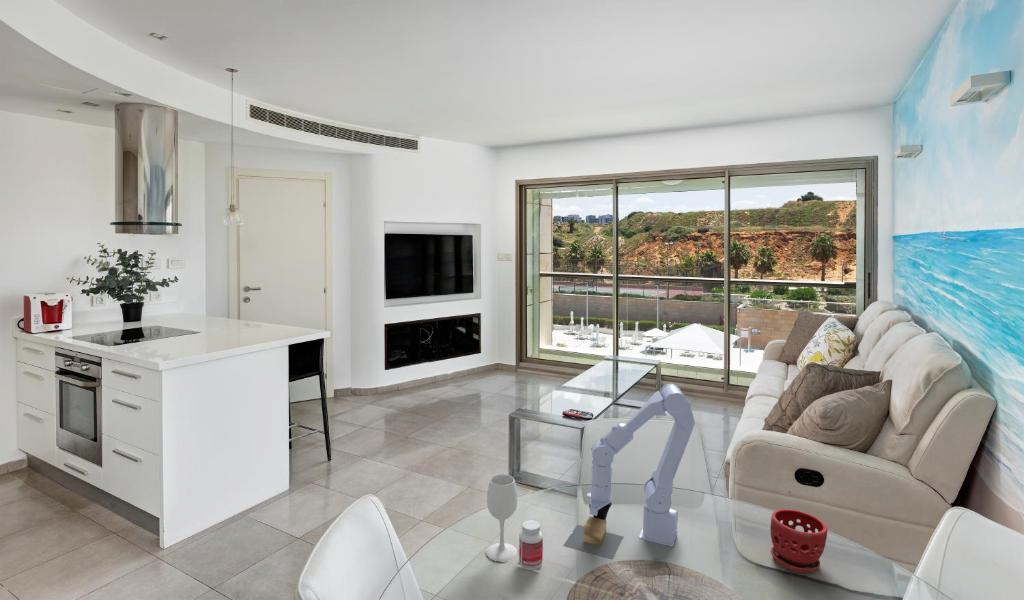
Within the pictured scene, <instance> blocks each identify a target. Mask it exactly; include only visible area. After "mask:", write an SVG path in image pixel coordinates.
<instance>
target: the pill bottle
mask: <svg viewBox="0 0 1024 600" xmlns="http://www.w3.org/2000/svg"><path fill="white" fill-rule="evenodd" d="M521 527H522V528H521V531H520V533H519V538H518V539H519V540H518V544H519V546H518V561H519V562H518V563H519V566H520V567H521V568H523V569H524V570H526V571H535V570H538V569H540V568H541V567H542V565H543V561H544V560H543V558H544V557H543V553H544V552H543V551H544V549H543V548H544V547H543V545H544V543H543V541H544V536H543V533H542V532H541V523H540V522H539V521H537V520H534V519H533V520H532V519H531V520H529V519H527V520H525V521H523V523H522V525H521Z"/></svg>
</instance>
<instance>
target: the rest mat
mask: <svg viewBox="0 0 1024 600" xmlns="http://www.w3.org/2000/svg"><path fill="white" fill-rule="evenodd" d="M572 532H573V533H572ZM572 532H571V533H572V534H571V533H570V535H569V536H568V538H567V540H566V541H564V544H563V545H562V547H565V548H570V549H573V550H576V551H580V552H585V553H589V554H592V555H596V556H600V557H602V558H605V559H610V560H613V559H614V557H616V556H615V555H616V553H617V551H618V549H619V547H620V545H621V544H622V541H623V540H624V538H625V537H624V535H619V534H616V533H611V532H607V531H606V538H605V540H604V542H603V543H602V545H601V546H599V545H595V544H591V543H588V542H584V525H581V524H580V525H579V524H576V526H575V527H574V528H573V530H572Z"/></svg>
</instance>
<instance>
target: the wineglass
mask: <svg viewBox="0 0 1024 600" xmlns="http://www.w3.org/2000/svg"><path fill="white" fill-rule="evenodd" d="M487 487H488V488H487V492H486V494H487V495H486V505H487V509H488V512H489V513H490V514H491V516H492V517H493V518H494V519H497V520H498V521H499V530H500V532H499V533H500V534H499V542H497V543H496V542H495V543H493V544H491V545H489V546H490V547H489V546H488V547H487V548H488V549H486V550H485V554H486V557H487V556H488V557H489V558H488V557H487V558H488V560H491V559H492V560H491V561H493V560H494V561H493V562H496V561H506V560H507V561H510V560H512V559H514V558H516V556H517V554H518V550H517V548H516V546H514V545H512V544H510V543H507V542H505V538H504V537H505V535H504V533H505V532H504V530H505V529H504V528H505V521H506V520H507V519H510V517H512V516H513V515H514V513H515V512H516V510H517V507H518V490H517V483H516V480H515V478H514V477H513V476H512V475H509V474H504V473H503V474H502V473H501V474H495V475H493V476H492V477H491V478H490V479H489V482H488V486H487Z"/></svg>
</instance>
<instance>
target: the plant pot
mask: <svg viewBox="0 0 1024 600" xmlns="http://www.w3.org/2000/svg"><path fill="white" fill-rule="evenodd" d="M797 520H799V522H798V521H797ZM781 521H782V522H781ZM790 521H791V522H792V524H790V523H789V522H790ZM808 525H809V526H808ZM797 527H801V528H802V529H803V531H801V530H797ZM816 530H817V532H816ZM809 531H810V532H809ZM828 531H829V529H828V526H827V525H826V524H825V523H824V522H823V520H821V519H819V518H818V517H816V516H814V515H812V514H809V513H807V512H803V511H800V510H795V509H789V508H786V509H785V508H783V509H777V510H774V511H773V512H772V514H771V519H770V538H771V543H772V547H771V550H770V553H771V556H772V558H773V559H774V560H775V562H776V563H778V564H779V565H781V566H782V567H784V568H785V569H787V570H788V571H793V572H797V573H800V574H801V573H804V574H809V573H813V572H816V571H817V570H818V569H819V568H820V567H821V561H820V558H821V557H822V556H823V555H822V554H823V553H824V552H825V551H824V550H825V547H826V542H827V538H828Z"/></svg>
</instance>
